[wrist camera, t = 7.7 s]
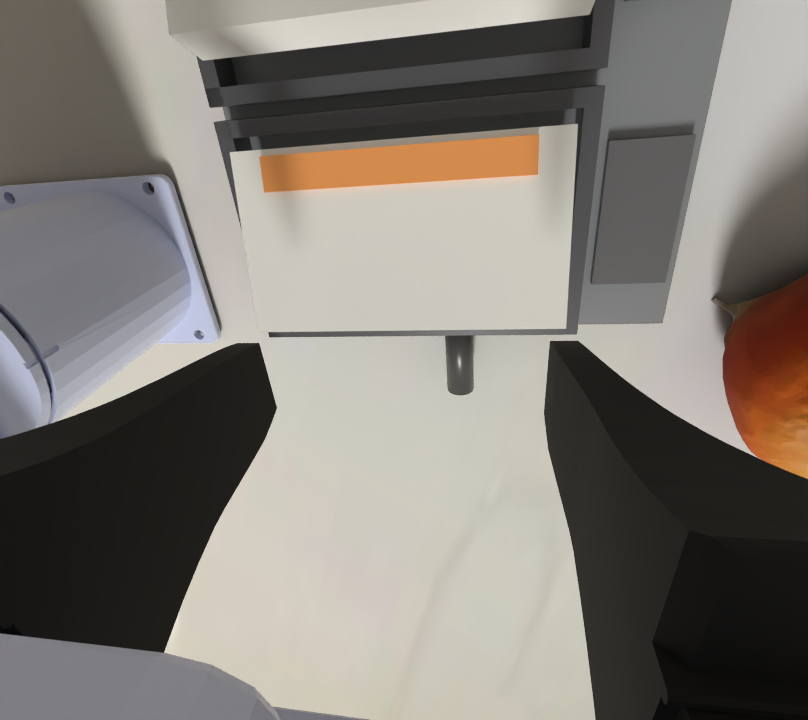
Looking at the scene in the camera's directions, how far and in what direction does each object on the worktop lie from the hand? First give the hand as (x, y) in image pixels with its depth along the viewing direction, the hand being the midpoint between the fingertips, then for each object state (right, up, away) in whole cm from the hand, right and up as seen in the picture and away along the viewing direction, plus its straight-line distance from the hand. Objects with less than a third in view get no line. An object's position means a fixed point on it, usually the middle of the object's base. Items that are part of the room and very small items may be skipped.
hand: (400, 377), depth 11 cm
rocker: (0, +4, +4) cm, 6 cm away
